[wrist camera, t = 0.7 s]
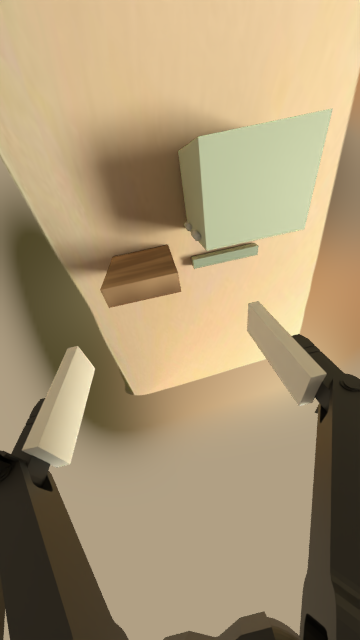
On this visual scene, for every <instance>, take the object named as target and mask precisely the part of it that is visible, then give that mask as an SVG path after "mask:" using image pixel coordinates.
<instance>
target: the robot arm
mask: <svg viewBox="0 0 360 640" xmlns="http://www.w3.org/2000/svg"><path fill="white" fill-rule="evenodd" d="M247 331H248V333H249V334H250V336H251V337H252V338H253V340H254V341H255V343H256V344H257V346H258V347H259V349H260V350H261V352H262V353H263V354H264V356H265V357H266V359H267V360H268V362H269V363H270V365H271V366H272V367H273V369H274V370H275V372H276V373H277V375H278V376H279V378H280V379H281V381H282V382H283V384H284V385H285V386H286V388H287V389H288V391H289V392H290V394H291V395H292V397H293V398H294V400H295V401H296V402H297V404H298V405H299V406H302V405H306V404H309V403H312V402H313V400H314V398H316V399H317V400H318V402H319V405H318V407H317V409H316V411H315V413H318V423H317V438H316V453H315V469H314V484H313V499H312V514H311V529H310V545H309V559H308V570H307V575H306V578H305V582H304V587H303V596H302V610H301V623H300V636H299V635H298V634H297V633H295V632H294V631H293V630H292V629H291V628H290V627H288V626H287V625H285V624H284V623H282V622H280V621H278V620H276V619H273V618H269V617H266V614H265V612H261V613H256V614H253V615H249V616H245V617H241V618H239V619H238V620H237V621H236V622H235V623H233V625H231V626H230V627H229V628H228V629H227V630H225V632H223V633H222V634H221V635H220V636H218V637H211V636H207V635H203V634H199V633H195V632H191V631H188V632H184V633H180V634H176V635H172V636H169V637H166V638H164V640H360V379H359V378H357V377H355V376H353V375H350V374H345V373H343V372H342V371H341V370H340V369H339V368H338V367H337V366H336V365H335V364H334V363H333V362H332V361H330V359H328V358H327V357H326V356H325V355H324V354H323V353H322V352H320V350H319V349H318V348H317V347H316V346H314V344H313V343H312V342H311V341H310V340H309V339H307V338H305V337H304V336H302V335H300V334H298V335H294V336H291V335H290V334H289V333H288V332H287V331H286V330H285V329H284V328H283V327H282V326H281V325H280V324H279V323H278V322H277V320H276V319H275V318H274V317H273V316H272V315H271V314H270V313H269V312H268V311H267V310H266V309H265V308H264V307H263V306H262V305H261V304H260V303H259V301H257V302H253V303H249V304H248V322H247ZM94 370H95V368H94V367H93V365H92V364H91V363H90V361H89V360H88V359H87V357H86V356H85V355H84V354H83V352H82V351H81V349H80V348H79V347H78V346H76V347H72V348H68V349H67V351H66V354H65V356H64V358H63V360H62V362H61V365H60V367H59V369H58V371H57V373H56V376H55V378H54V380H53V382H52V385H51V387H50V389H49V391H48V393H47V396H46V398H44V399H40V401H39V402H38V403H37V404H36V406H35V407H34V408H33V410H32V412H31V414H30V418H29V419H28V421H27V423H26V426H25V427H24V429H23V431H22V433H21V435H20V437H19V439H18V441H17V443H16V445H15V447H14V450H13V452H12V454H9V453H7V452H5V451H0V640H3V635H4V618H5V609H6V616H7V622H8V629H9V635H10V640H128V638H127V636H126V634H125V632H124V631H123V630H122V628H120V627H119V626H118V625H117V624H116V623H115V622H114V620H113V619H112V617H111V615H110V612H109V610H108V608H107V605H106V603H105V600H104V598H103V596H102V593H101V591H100V589H99V587H98V584H97V581H96V579H95V577H94V574H93V572H92V569H91V567H90V565H89V562H88V560H87V558H86V555H85V553H84V551H83V548H82V546H81V544H80V541H79V539H78V536H77V534H76V532H75V529H74V527H73V524H72V522H71V520H70V517H69V515H68V512H67V510H66V508H65V505H64V503H63V501H62V498H61V496H60V493H59V491H58V489H57V486H56V484H55V482H54V479H53V477H52V474H51V473H50V472H49V471H48V470H49V466H50V464H51V465H53V466H55V467H60V466H65V465H69V464H70V463H71V459H72V455H73V451H74V448H75V444H76V440H77V436H78V432H79V428H80V424H81V420H82V416H83V413H84V409H85V405H86V401H87V397H88V394H89V389H90V386H91V382H92V378H93V374H94Z"/></svg>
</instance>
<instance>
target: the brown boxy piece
mask: <svg viewBox="0 0 360 640" xmlns="http://www.w3.org/2000/svg"><path fill="white" fill-rule="evenodd" d="M100 290H101V292H102V294H103V296H104V299H105V301H106V303H107V305H108V307H109V308H110V307H115V306H119V305H124V304H128V303H133V302H137V301H141V300H146V299H150V298H155V297H159V296H164V295H168V294H173V293H177V292H181V287H180V282H179V277H178V272H177V269H176V266H175V263H174V261H173V258H172V255H171V252H170V249H169V246H168V245H165V246H160V247H156V248H151V249H147V250H142V251H138V252H133V253H129V254H124V255H119V256H115V257H113V258H112V260H111V263H110V266H109V268H108V271H107V274H106V276H105V279H104V281H103V284H102V287H101V289H100Z"/></svg>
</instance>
